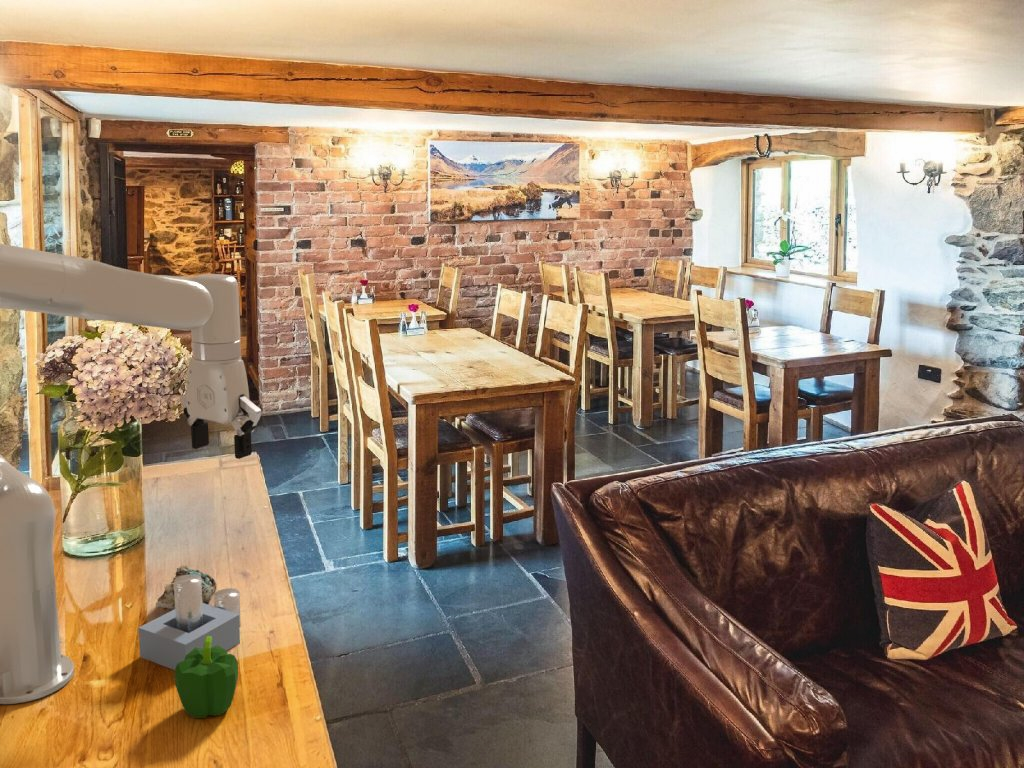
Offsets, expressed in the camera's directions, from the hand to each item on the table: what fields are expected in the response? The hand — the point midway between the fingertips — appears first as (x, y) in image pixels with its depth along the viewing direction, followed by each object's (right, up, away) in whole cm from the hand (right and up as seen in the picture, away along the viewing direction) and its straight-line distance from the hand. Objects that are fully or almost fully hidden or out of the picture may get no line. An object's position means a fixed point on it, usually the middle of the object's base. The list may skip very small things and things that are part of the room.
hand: (221, 451), depth 146 cm
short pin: (+1, -29, 0) cm, 29 cm away
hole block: (-2, -31, -7) cm, 32 cm away
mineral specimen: (-8, -28, +7) cm, 30 cm away
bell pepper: (+6, -35, -22) cm, 42 cm away
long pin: (-2, -31, -7) cm, 32 cm away
